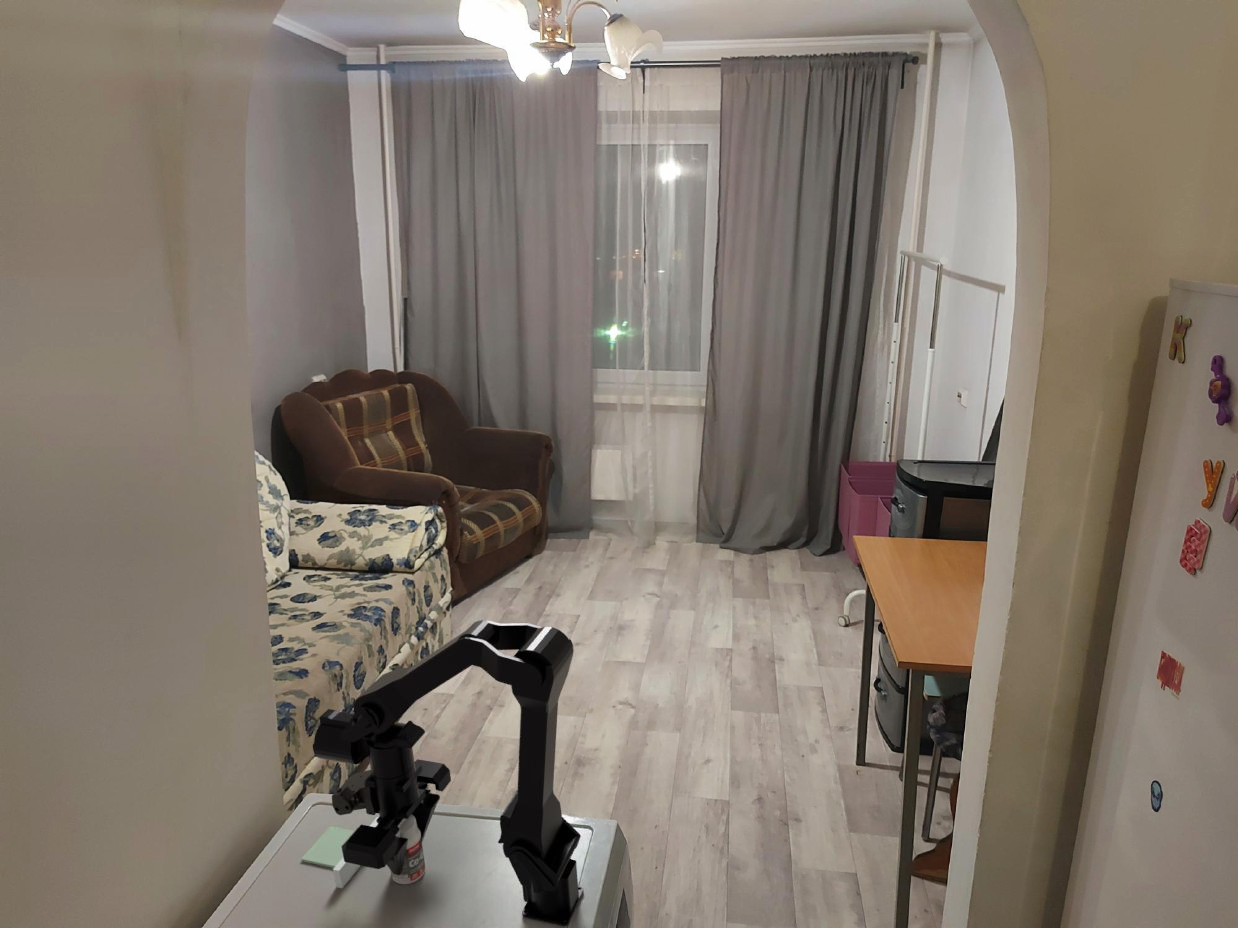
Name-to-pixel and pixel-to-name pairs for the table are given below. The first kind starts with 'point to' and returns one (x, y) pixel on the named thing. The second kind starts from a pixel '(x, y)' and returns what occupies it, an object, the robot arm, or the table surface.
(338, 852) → the coaster
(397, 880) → the pill bottle
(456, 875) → the table surface
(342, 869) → the acrylic wall
